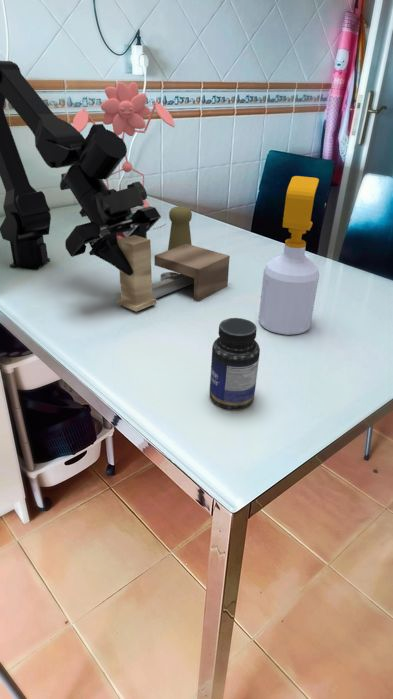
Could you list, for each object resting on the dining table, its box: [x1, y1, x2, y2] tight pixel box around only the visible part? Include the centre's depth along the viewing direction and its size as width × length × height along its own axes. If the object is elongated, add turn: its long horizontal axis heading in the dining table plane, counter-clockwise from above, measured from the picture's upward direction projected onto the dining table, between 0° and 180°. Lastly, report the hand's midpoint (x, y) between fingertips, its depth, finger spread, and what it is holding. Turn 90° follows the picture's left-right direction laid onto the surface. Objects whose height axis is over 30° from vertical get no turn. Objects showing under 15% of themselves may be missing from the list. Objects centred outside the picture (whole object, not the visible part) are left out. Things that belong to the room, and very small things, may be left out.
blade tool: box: [117, 235, 194, 312], centre depth 89 cm, size 5×18×12 cm, turn 139°
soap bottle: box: [258, 175, 320, 336], centre depth 78 cm, size 9×9×25 cm
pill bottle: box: [209, 317, 261, 411], centre depth 62 cm, size 6×6×11 cm
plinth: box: [154, 244, 231, 302], centre depth 95 cm, size 11×10×6 cm
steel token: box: [160, 271, 179, 281], centre depth 97 cm, size 4×4×2 cm
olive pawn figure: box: [167, 205, 193, 251], centre depth 111 cm, size 6×6×11 cm
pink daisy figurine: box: [72, 81, 176, 230], centre depth 124 cm, size 15×26×35 cm, turn 110°
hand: (140, 270), depth 84 cm, fingers closed on blade tool, 4 cm apart
